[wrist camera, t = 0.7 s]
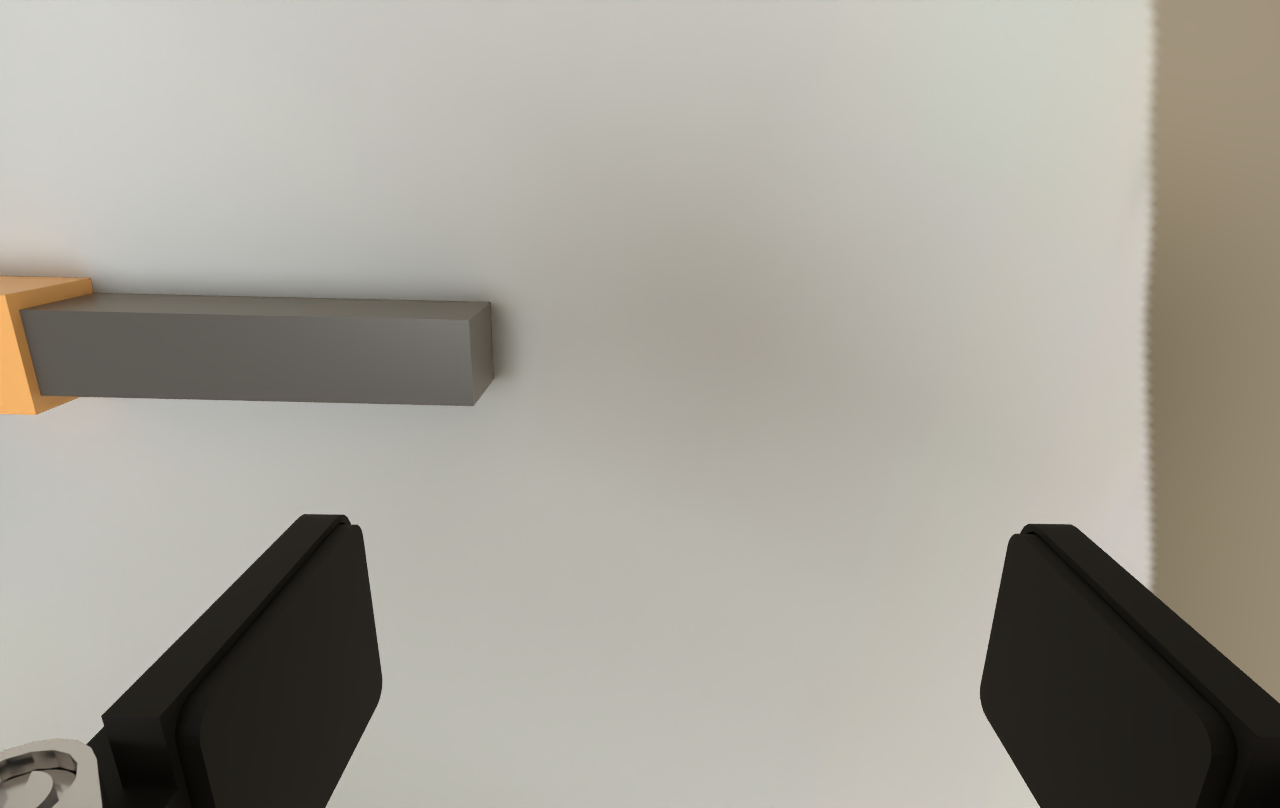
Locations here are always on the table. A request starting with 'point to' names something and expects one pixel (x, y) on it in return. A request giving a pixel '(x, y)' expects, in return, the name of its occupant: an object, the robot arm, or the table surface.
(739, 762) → the table surface
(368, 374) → the grey and orange bar
